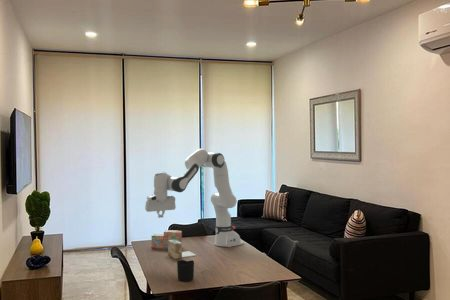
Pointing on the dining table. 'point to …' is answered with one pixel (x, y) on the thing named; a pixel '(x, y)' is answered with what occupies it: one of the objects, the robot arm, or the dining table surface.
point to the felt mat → (187, 254)
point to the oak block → (175, 249)
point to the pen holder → (185, 270)
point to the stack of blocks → (165, 238)
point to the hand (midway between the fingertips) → (160, 217)
